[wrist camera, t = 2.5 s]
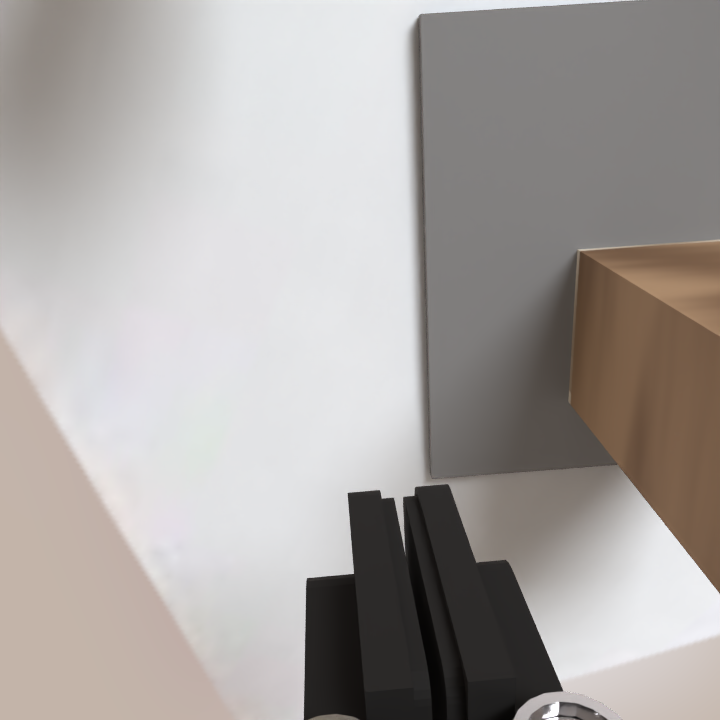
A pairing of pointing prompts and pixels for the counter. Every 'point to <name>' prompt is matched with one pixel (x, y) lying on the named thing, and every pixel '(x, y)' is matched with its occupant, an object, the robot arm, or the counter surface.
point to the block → (655, 378)
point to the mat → (549, 201)
